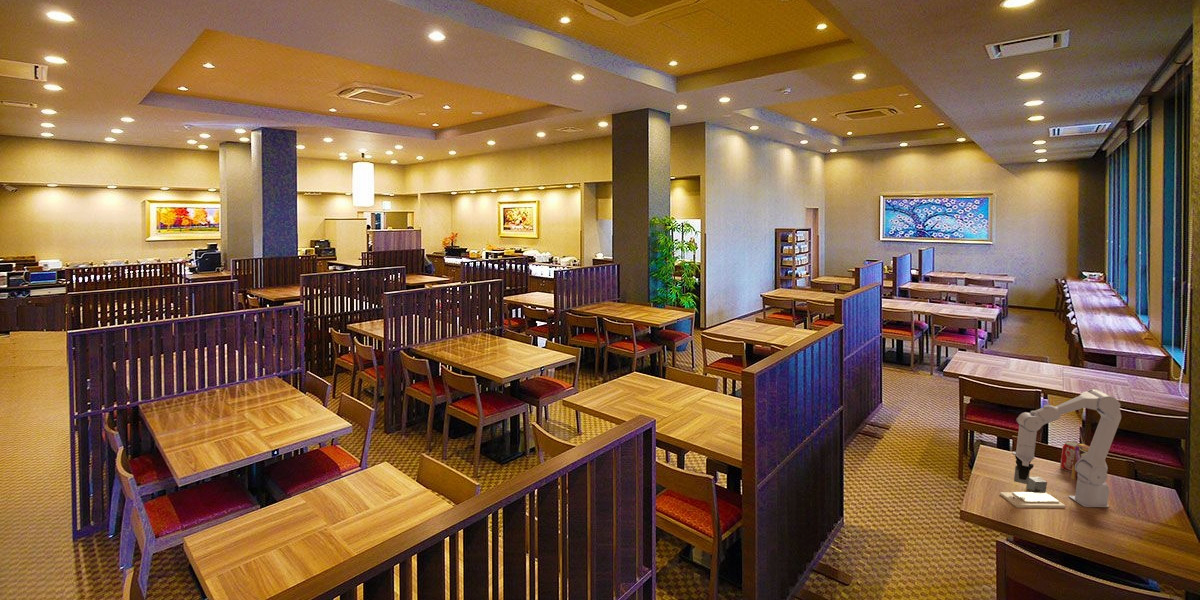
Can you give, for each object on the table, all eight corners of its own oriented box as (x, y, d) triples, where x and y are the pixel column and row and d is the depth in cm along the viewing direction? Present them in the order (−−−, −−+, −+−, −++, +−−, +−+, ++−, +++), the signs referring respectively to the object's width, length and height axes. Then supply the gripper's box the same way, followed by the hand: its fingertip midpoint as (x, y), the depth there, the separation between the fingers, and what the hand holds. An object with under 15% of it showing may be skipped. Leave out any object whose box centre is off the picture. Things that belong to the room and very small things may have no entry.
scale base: (1045, 495, 233) (1046, 491, 233) (1065, 507, 223) (1065, 504, 223) (999, 494, 234) (1000, 491, 233) (1017, 507, 224) (1017, 504, 223)
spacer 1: (1014, 476, 234) (1015, 465, 233) (1027, 479, 232) (1029, 468, 231) (1014, 481, 230) (1015, 469, 230) (1028, 484, 228) (1029, 472, 227)
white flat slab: (1045, 493, 232) (1045, 492, 232) (1059, 502, 225) (1059, 501, 225) (1012, 493, 232) (1012, 491, 232) (1024, 502, 225) (1025, 501, 225)
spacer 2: (1037, 488, 239) (1038, 476, 238) (1045, 493, 234) (1047, 481, 234) (1026, 488, 239) (1027, 476, 238) (1034, 493, 235) (1035, 481, 234)
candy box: (1100, 487, 239) (1105, 452, 237) (1091, 488, 238) (1097, 453, 236) (1078, 477, 248) (1083, 443, 245) (1070, 478, 247) (1075, 444, 244)
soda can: (1084, 474, 251) (1088, 447, 249) (1065, 472, 252) (1069, 446, 250) (1074, 467, 258) (1078, 441, 256) (1056, 465, 259) (1059, 439, 257)
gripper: (1012, 435, 237) (1009, 467, 239) (1014, 448, 224) (1010, 481, 227) (1034, 439, 233) (1030, 471, 235) (1037, 452, 221) (1033, 486, 223)
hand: (1022, 476), depth 231 cm, fingers closed on spacer 1, 5 cm apart
